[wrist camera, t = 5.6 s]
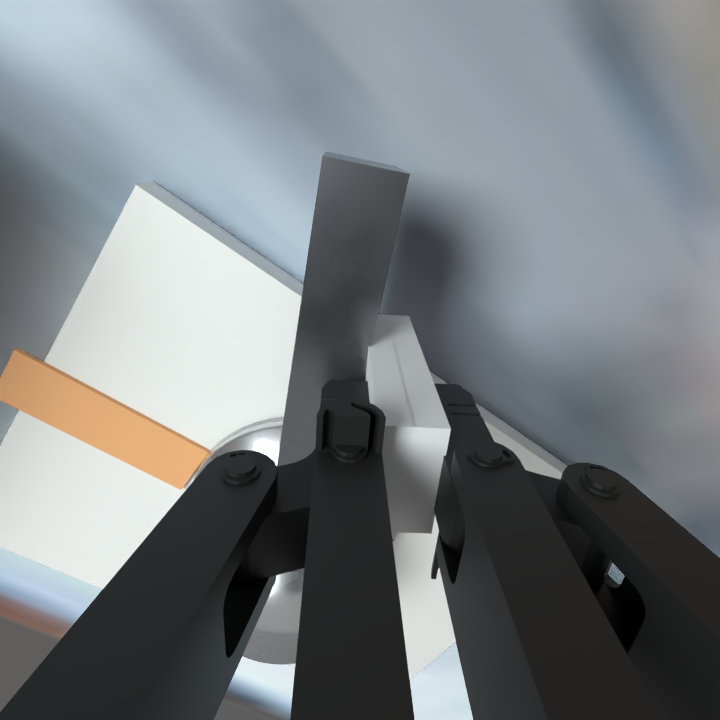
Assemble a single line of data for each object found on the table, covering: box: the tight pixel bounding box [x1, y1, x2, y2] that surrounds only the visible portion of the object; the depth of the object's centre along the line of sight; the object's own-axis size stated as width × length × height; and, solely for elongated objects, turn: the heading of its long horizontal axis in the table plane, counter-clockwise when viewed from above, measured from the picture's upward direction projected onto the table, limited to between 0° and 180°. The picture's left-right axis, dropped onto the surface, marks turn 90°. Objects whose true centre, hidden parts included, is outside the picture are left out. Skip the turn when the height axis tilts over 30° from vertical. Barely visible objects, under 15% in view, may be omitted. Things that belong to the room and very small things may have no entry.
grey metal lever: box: [193, 152, 409, 664], centre depth 17 cm, size 19×9×5 cm, turn 169°
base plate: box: [0, 181, 567, 679], centre depth 22 cm, size 25×18×2 cm
